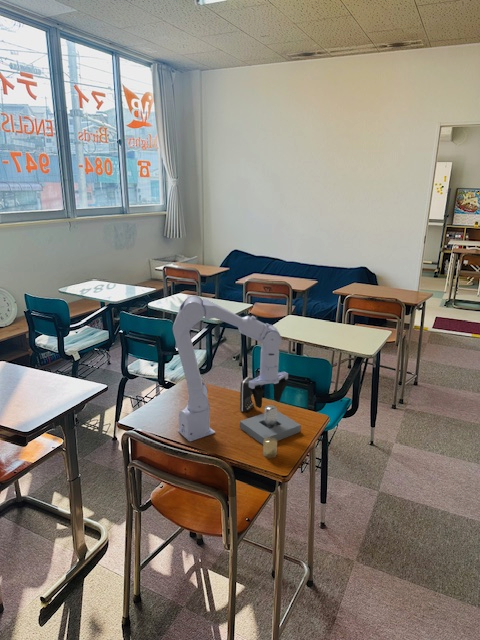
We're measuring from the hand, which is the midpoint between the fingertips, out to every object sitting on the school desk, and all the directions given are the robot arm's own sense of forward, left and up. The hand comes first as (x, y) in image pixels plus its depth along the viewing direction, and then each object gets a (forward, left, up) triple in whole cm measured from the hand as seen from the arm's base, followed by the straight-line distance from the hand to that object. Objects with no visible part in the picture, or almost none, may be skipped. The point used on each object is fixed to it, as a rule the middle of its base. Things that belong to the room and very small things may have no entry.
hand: (267, 403), depth 142 cm
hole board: (+1, -1, -9) cm, 9 cm away
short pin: (-8, -12, -9) cm, 17 cm away
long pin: (+1, -1, -9) cm, 9 cm away
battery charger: (+4, +15, -10) cm, 18 cm away
